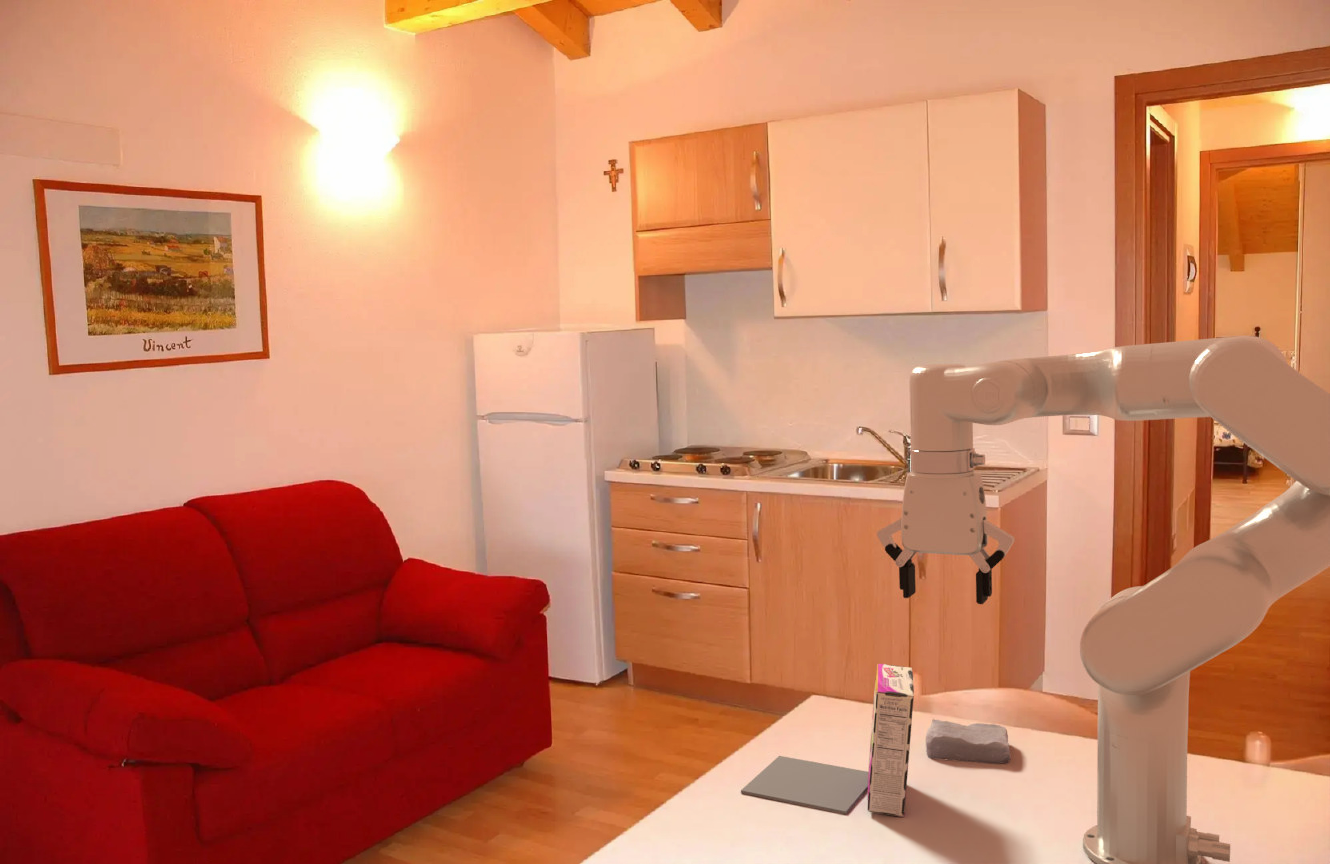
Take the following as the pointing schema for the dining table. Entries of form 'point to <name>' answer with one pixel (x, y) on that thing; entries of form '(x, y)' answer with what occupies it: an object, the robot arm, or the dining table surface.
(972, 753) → the stone block
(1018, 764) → the dining table surface
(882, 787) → the candy bar box
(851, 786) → the mat
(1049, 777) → the dining table surface
